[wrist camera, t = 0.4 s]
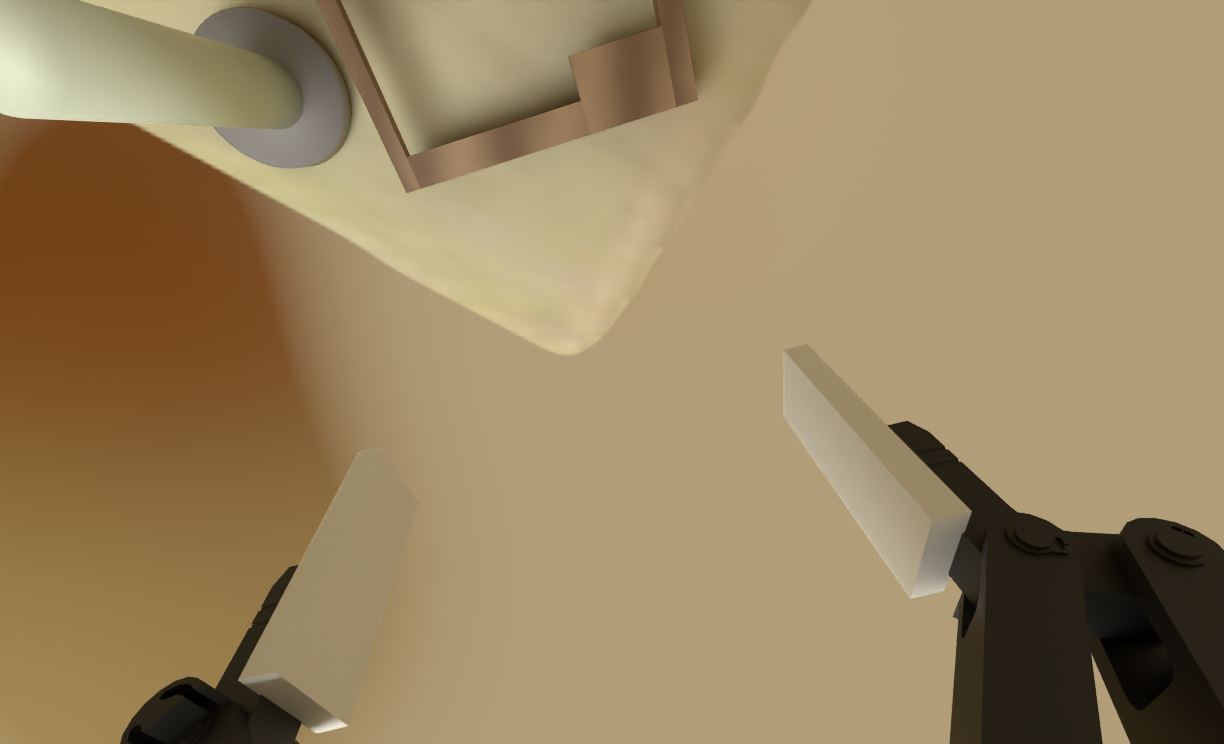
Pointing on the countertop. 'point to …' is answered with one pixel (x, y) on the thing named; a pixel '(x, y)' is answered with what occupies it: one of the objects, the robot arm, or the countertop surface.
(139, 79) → the cream rod gray base
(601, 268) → the countertop surface
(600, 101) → the brown square frame
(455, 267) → the countertop surface
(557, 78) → the countertop surface
